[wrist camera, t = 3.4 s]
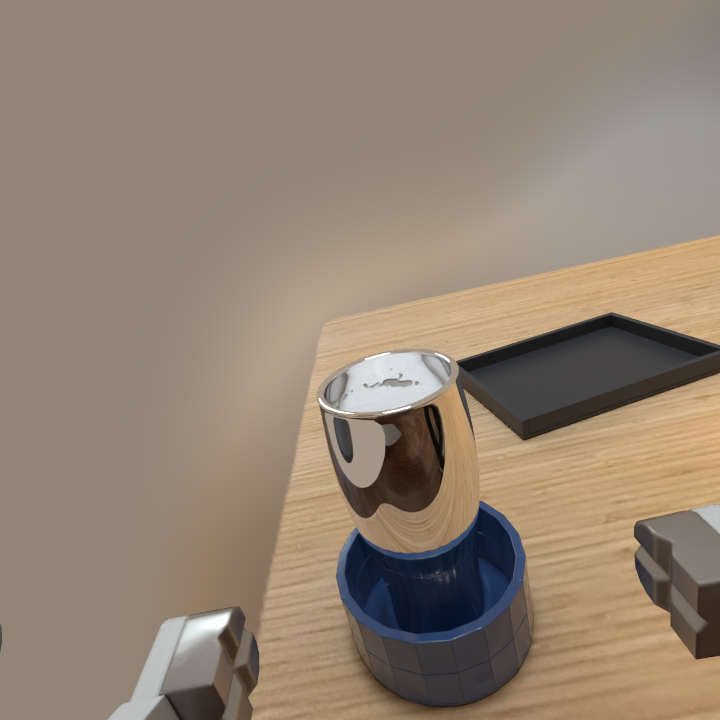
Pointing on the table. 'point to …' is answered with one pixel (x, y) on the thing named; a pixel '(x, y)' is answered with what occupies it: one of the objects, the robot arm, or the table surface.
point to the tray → (583, 371)
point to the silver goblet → (410, 482)
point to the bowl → (448, 648)
